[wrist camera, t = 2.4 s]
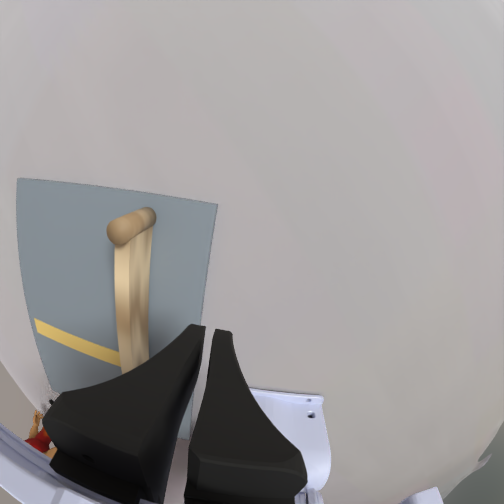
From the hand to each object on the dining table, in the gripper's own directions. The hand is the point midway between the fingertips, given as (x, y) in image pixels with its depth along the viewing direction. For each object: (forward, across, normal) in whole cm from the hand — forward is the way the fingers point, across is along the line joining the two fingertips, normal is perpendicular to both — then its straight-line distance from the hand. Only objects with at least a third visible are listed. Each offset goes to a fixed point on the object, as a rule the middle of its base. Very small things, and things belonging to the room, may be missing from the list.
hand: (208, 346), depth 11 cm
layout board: (+8, +11, +8) cm, 16 cm away
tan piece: (+8, +6, +3) cm, 10 cm away
